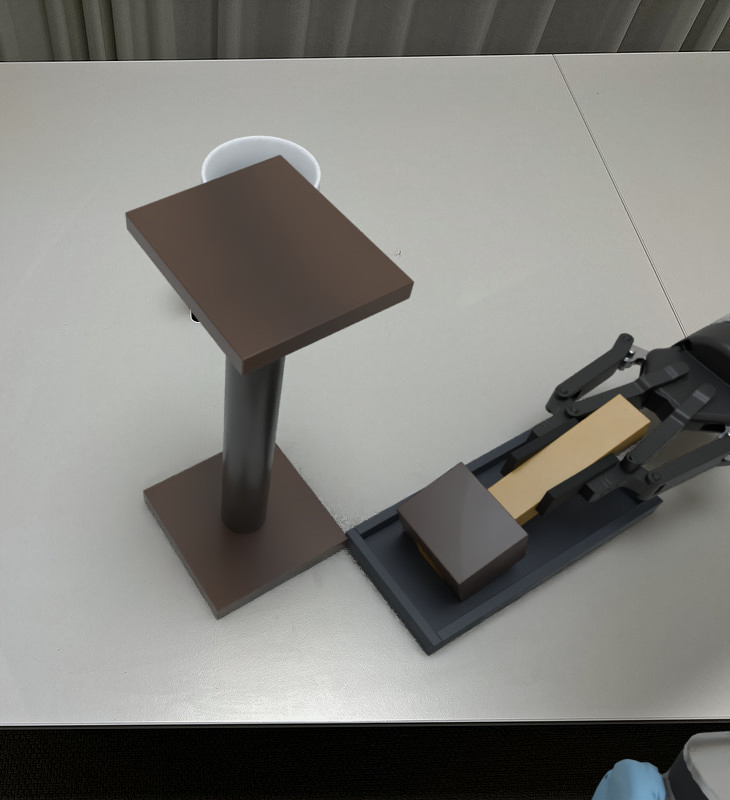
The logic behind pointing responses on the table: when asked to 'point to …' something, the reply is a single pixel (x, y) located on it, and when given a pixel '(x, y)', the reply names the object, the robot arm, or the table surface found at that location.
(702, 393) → the robot arm
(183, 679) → the table surface
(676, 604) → the table surface
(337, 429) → the table surface
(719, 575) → the table surface
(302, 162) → the mug
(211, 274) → the pedestal stand
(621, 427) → the mallet
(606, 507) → the tray
